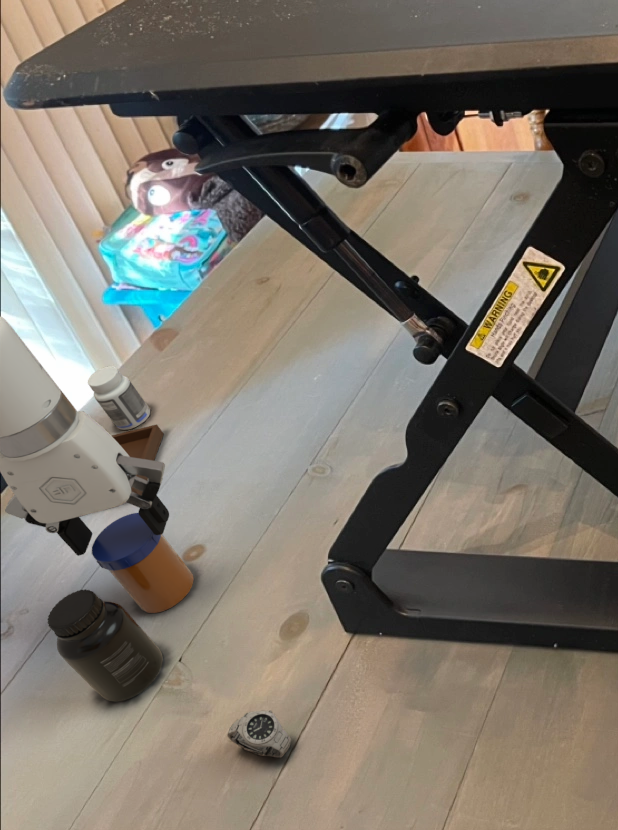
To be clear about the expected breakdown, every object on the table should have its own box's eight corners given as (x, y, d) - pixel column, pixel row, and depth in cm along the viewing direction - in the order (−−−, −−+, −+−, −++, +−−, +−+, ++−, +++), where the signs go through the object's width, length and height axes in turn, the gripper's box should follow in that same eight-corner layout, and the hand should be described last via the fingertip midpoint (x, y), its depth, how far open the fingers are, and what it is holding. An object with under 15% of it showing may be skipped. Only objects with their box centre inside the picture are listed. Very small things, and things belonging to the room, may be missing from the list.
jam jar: (133, 619, 120) (88, 567, 114) (147, 575, 125) (105, 524, 119) (187, 605, 120) (145, 553, 115) (198, 562, 125) (159, 510, 120)
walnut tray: (56, 519, 136) (47, 509, 134) (84, 453, 145) (77, 443, 144) (141, 498, 136) (133, 488, 135) (163, 433, 145) (157, 424, 144)
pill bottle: (146, 402, 152) (115, 358, 147) (155, 417, 149) (124, 373, 143) (112, 420, 150) (80, 377, 145) (121, 436, 147) (88, 392, 141)
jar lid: (91, 577, 115) (83, 568, 114) (109, 530, 120) (101, 520, 119) (153, 562, 115) (145, 552, 114) (168, 515, 120) (161, 506, 119)
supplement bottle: (166, 637, 117) (109, 570, 110) (163, 687, 112) (104, 620, 105) (102, 663, 116) (41, 597, 109) (97, 714, 111) (31, 649, 103)
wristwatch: (284, 768, 102) (261, 741, 99) (232, 757, 104) (208, 731, 101) (304, 734, 105) (282, 707, 101) (253, 724, 106) (230, 697, 103)
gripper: (-69, 472, 103) (35, 582, 113) (107, 427, 103) (194, 541, 114) (-39, 420, 109) (57, 529, 119) (128, 377, 109) (209, 490, 120)
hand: (124, 534), depth 116 cm, fingers open, 8 cm apart
